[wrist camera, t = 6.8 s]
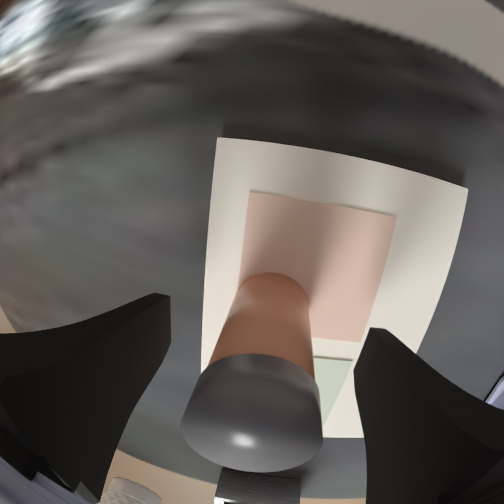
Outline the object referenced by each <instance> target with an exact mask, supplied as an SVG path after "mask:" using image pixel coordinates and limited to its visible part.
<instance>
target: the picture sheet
mask: <svg viewBox="0 0 504 504" xmlns="http://www.w3.org/2000/svg"><path fill="white" fill-rule="evenodd" d="M467 194H468V189H467V188H464V187H461V186H458V185H455V184H452V183H449V182H446V181H443V180H440V179H437V178H434V177H431V176H427V175H424V174H420V173H417V172H414V171H410V170H406V169H403V168H399V167H395V166H391V165H387V164H383V163H379V162H375V161H371V160H366V159H362V158H357V157H353V156H348V155H343V154H338V153H333V152H328V151H322V150H316V149H310V148H304V147H298V146H291V145H284V144H277V143H269V142H261V141H252V140H243V139H232V138H220V137H217V145H216V154H215V163H214V172H213V182H212V192H211V203H210V214H209V226H208V239H207V252H206V267H205V284H204V302H203V324H202V353H201V373H202V372H203V371H204V370H205V369H206V368H207V366H208V363H209V361H210V358H211V356H212V353H213V351H214V348H215V346H216V343H217V341H218V338H219V336H220V333H221V330H222V328H223V325H224V323H225V320H226V318H227V315H228V313H229V310H230V308H231V305H232V303H233V300H234V298H235V295H236V293H237V290H238V289H239V287H240V286H241V285H242V284H243V283H244V282H245V281H246V280H247V279H249V278H250V277H252V276H254V275H257V274H260V273H267V272H273V273H280V274H283V275H286V276H288V277H290V278H292V279H293V280H295V281H296V282H297V283H298V284H299V285H300V286H301V287H302V289H303V290H304V292H305V294H306V297H307V301H308V309H309V318H310V328H311V338H312V349H313V360H314V373H315V382H316V384H317V386H318V388H319V393H320V403H321V416H322V432H323V437H338V438H364V435H363V430H362V425H361V420H360V415H359V410H358V406H357V401H356V396H355V388H354V374H353V370H354V367H355V365H356V362H357V360H358V358H359V355H360V353H361V350H362V347H363V345H364V342H365V340H366V337H367V334H368V332H369V329H370V327H374V328H384V329H386V330H388V331H389V332H391V333H392V334H393V335H394V336H396V337H397V338H398V339H399V340H400V341H402V342H403V343H404V344H405V345H406V346H407V347H408V348H410V349H411V350H412V351H413V352H414V353H415V354H416V352H417V350H418V348H419V346H420V344H421V342H422V339H423V337H424V335H425V333H426V330H427V328H428V326H429V323H430V321H431V318H432V316H433V313H434V311H435V308H436V306H437V303H438V300H439V298H440V295H441V292H442V289H443V287H444V284H445V281H446V278H447V275H448V271H449V268H450V265H451V262H452V258H453V255H454V251H455V248H456V244H457V240H458V236H459V232H460V228H461V224H462V219H463V215H464V210H465V205H466V200H467Z"/></svg>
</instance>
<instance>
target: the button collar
mask: <svg viewBox="0 0 504 504" xmlns="http://www.w3.org/2000/svg"><path fill="white" fill-rule="evenodd" d="M300 485H301V479H292V478H279V477H269V476H261V475H253V474H246V473H240V472H234V471H228V470H223V469H221V474H220V478H219V482H218V486H217V490H216V494H215V499H214V504H229V502H230V503H236V504H300Z"/></svg>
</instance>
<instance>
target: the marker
mask: <svg viewBox="0 0 504 504" xmlns="http://www.w3.org/2000/svg"><path fill="white" fill-rule="evenodd" d="M181 432H182V435H183V437H184V439H185V440H186V442H187V443H188V444H189V445H190V446H191V447H192V448H193V449H194V450H195V451H196V452H197V453H199V454H200V455H202V456H203V457H205V458H207V459H208V460H210V461H212V462H214V463H217V464H219V465H222V466H225V467H228V468H232V469H236V470H241V471H248V472H276V471H282V470H287V469H291V468H294V467H297V466H299V465H301V464H304V463H305V462H307V461H309V460H310V459H311V458H313V457H314V456H315V455H316V454H317V453H318V451H319V450H320V448H321V446H322V443H323V432H322V416H321V403H320V393H319V388H318V386H317V384H316V382H315V373H314V360H313V349H312V338H311V328H310V318H309V309H308V301H307V297H306V294H305V292H304V290H303V289H302V287H301V286H300V285H299V284H298V283H297V282H296V281H295V280H293V279H292V278H290V277H288V276H286V275H283V274H280V273H273V272H267V273H260V274H257V275H254V276H252V277H250V278H249V279H247V280H246V281H245V282H244V283H243V284H242V285H241V286H240V287H239V289H238V290H237V293H236V295H235V298H234V300H233V303H232V305H231V308H230V310H229V313H228V315H227V318H226V320H225V323H224V325H223V328H222V330H221V333H220V336H219V338H218V341H217V343H216V346H215V348H214V351H213V353H212V356H211V358H210V361H209V363H208V366H207V368H206V369H205V370H204V371H203V372H202V373H201V375H200V377H199V379H198V381H197V383H196V386H195V388H194V391H193V393H192V396H191V398H190V400H189V403H188V405H187V408H186V410H185V413H184V415H183V417H182V420H181Z"/></svg>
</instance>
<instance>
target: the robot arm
mask: <svg viewBox="0 0 504 504" xmlns="http://www.w3.org/2000/svg"><path fill="white" fill-rule="evenodd" d="M170 343H171V318H170V296H167V295H163V294H158V293H153V294H150V295H147V296H144V297H142V298H139V299H137V300H135V301H132V302H130V303H128V304H125V305H123V306H121V307H118V308H116V309H113V310H111V311H108V312H106V313H103V314H100V315H98V316H95V317H92V318H90V319H87V320H84V321H81V322H77V323H74V324H70V325H66V326H62V327H58V328H52V329H46V330H41V331H35V332H25V333H8V334H0V504H96V503H99V502H100V499H101V495H102V491H103V487H104V484H105V480H106V476H107V474H108V470H109V468H110V464H111V462H112V459H113V456H114V453H115V450H116V448H117V445H118V443H119V440H120V438H121V435H122V433H123V431H124V428H125V426H126V424H127V422H128V419H129V417H130V415H131V413H132V411H133V409H134V407H135V406H136V404H137V402H138V401H139V399H140V398H141V396H142V394H143V393H144V391H145V390H146V388H147V386H148V385H149V383H150V382H151V380H152V378H153V377H154V375H155V373H156V372H157V370H158V369H159V367H160V365H161V364H162V362H163V360H164V357H165V355H166V353H167V351H168V348H169V346H170ZM353 374H354V388H355V396H356V401H357V406H358V410H359V415H360V420H361V425H362V430H363V435H364V440H365V447H366V459H367V495H366V504H504V377H502V378H501V379H500V380H499V382H498V383H497V385H496V386H495V388H494V389H493V391H492V392H491V394H490V395H489V397H488V398H487V400H486V401H485V402H484V401H482V400H480V399H478V398H476V397H475V396H473V395H471V394H469V393H467V392H466V391H464V390H462V389H461V388H459V387H458V386H456V385H455V384H453V383H452V382H450V381H449V380H447V379H446V378H445V377H443V376H442V375H441V374H439V373H438V372H437V371H436V370H434V369H433V368H432V367H431V366H429V365H428V364H427V363H426V362H425V361H423V360H422V359H421V358H420V357H419V356H418V355H416V354H415V353H414V352H413V351H412V350H411V349H410V348H408V347H407V346H406V345H405V344H404V343H403V342H402V341H400V340H399V339H398V338H397V337H396V336H394V335H393V334H392V333H391V332H389V331H388V330H386V329H384V328H374V327H370V329H369V332H368V334H367V337H366V340H365V342H364V345H363V347H362V350H361V353H360V355H359V358H358V360H357V362H356V365H355V367H354V370H353Z"/></svg>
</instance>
